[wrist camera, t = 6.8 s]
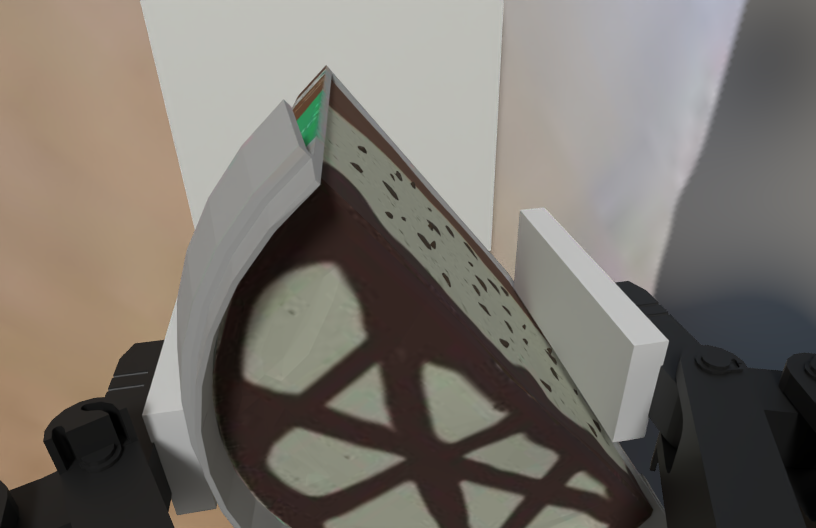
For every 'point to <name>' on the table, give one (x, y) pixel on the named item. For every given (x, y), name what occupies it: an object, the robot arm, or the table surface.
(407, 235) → the food container
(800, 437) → the robot arm
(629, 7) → the table surface
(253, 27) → the stand
